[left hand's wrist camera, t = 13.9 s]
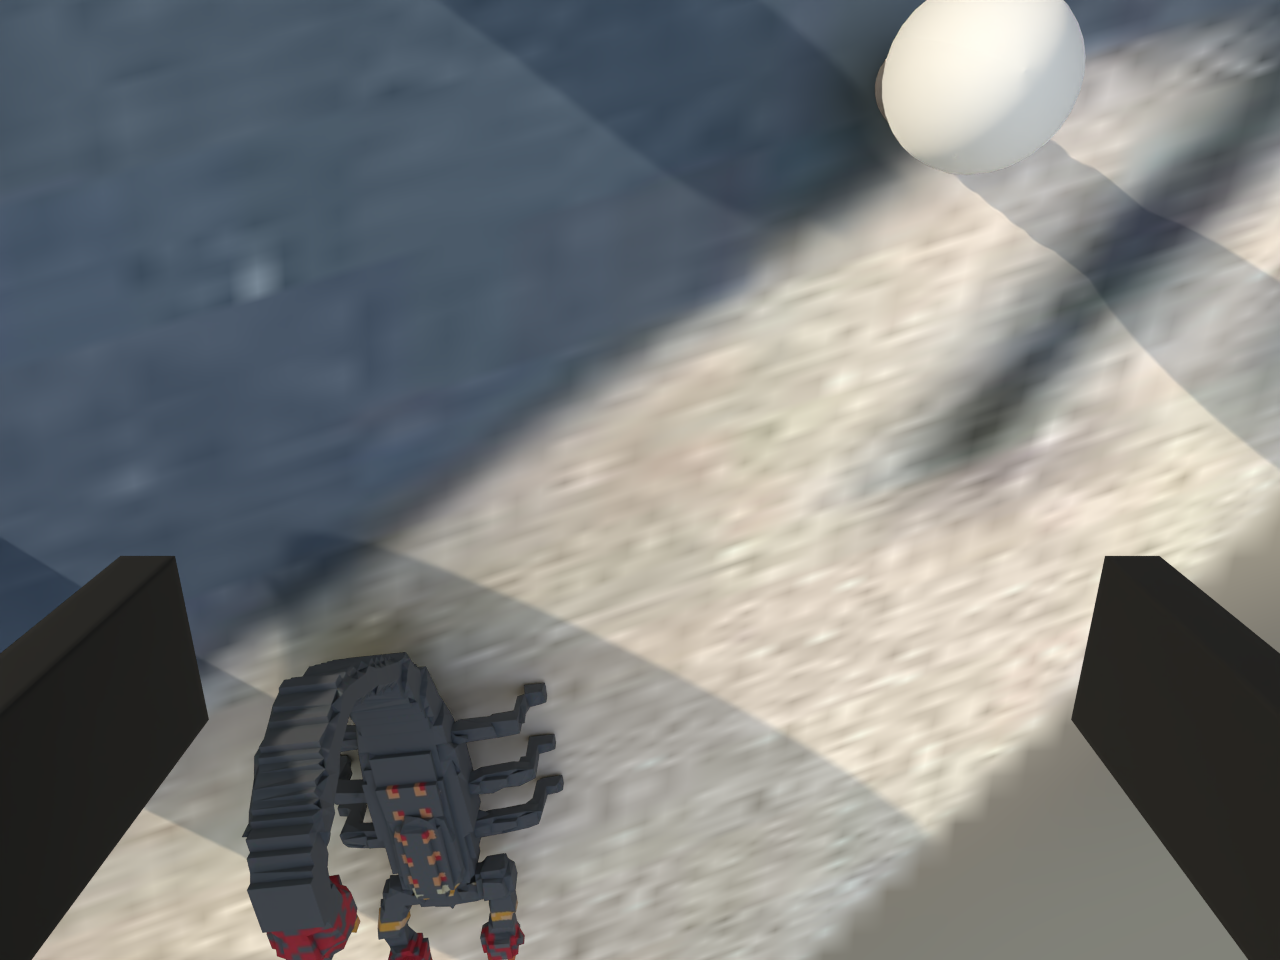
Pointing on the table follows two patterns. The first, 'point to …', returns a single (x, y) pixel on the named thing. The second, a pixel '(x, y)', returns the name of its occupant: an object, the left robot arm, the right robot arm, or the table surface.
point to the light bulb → (981, 81)
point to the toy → (383, 807)
